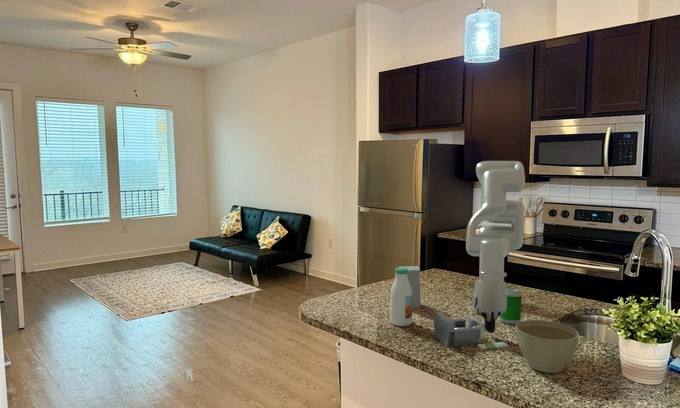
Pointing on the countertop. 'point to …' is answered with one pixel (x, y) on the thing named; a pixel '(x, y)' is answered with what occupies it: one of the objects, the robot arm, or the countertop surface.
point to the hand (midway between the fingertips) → (489, 331)
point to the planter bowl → (546, 344)
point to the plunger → (476, 324)
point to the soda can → (512, 307)
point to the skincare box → (414, 284)
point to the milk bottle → (401, 299)
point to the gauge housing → (453, 331)
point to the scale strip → (493, 345)
